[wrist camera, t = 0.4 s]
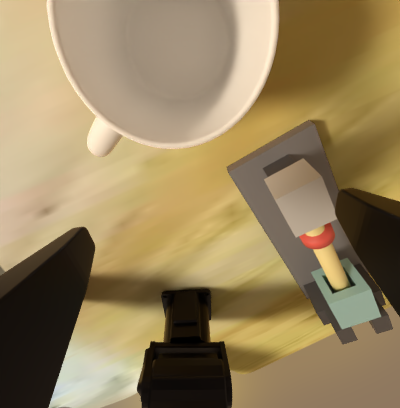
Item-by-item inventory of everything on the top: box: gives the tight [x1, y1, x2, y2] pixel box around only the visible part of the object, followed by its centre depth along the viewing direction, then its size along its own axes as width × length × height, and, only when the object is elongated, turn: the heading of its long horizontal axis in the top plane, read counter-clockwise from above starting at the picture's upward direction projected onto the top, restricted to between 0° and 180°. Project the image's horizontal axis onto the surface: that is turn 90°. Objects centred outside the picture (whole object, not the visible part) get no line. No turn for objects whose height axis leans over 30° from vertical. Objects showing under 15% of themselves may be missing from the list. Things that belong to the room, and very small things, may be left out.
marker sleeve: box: [311, 258, 381, 329], centre depth 24 cm, size 5×4×4 cm
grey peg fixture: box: [227, 120, 393, 344], centre depth 24 cm, size 22×8×8 cm, turn 32°
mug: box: [47, 0, 279, 157], centre depth 14 cm, size 12×8×10 cm
